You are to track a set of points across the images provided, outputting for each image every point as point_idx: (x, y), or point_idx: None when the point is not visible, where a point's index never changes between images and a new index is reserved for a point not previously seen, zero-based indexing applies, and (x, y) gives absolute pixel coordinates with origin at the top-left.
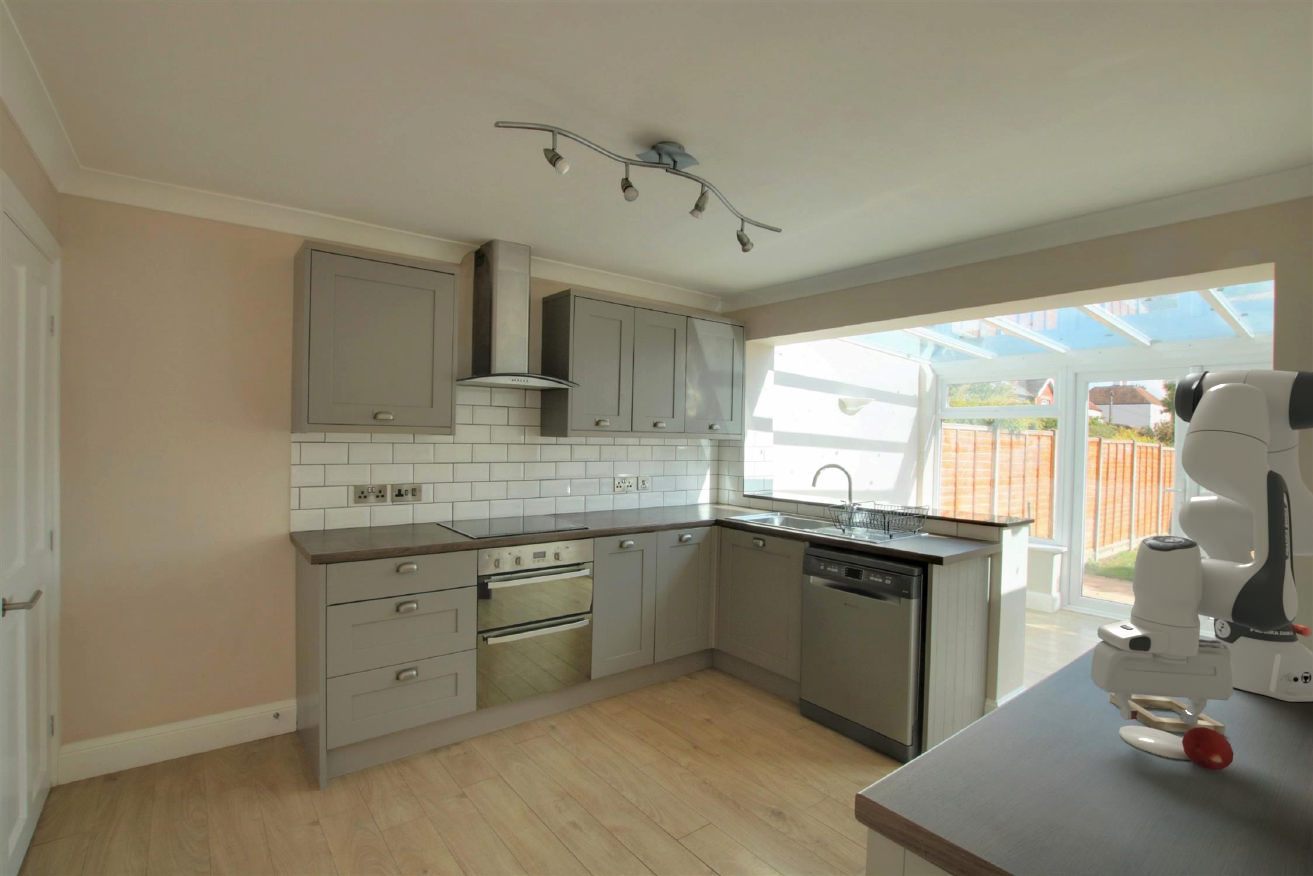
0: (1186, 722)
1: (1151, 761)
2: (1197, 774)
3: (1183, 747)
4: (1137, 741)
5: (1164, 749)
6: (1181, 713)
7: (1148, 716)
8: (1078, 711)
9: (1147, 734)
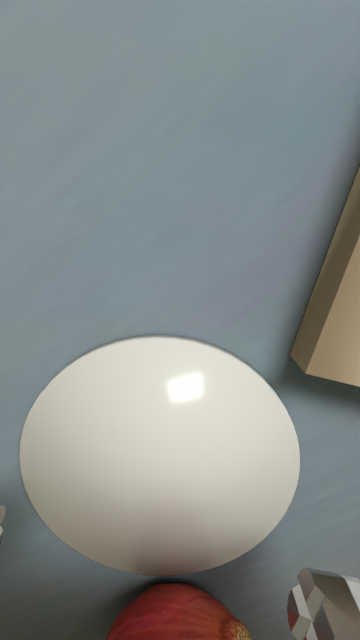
0: (291, 608)
1: (4, 555)
2: (96, 624)
3: (112, 633)
4: (46, 475)
5: (107, 535)
6: (320, 621)
7: (334, 318)
8: (44, 89)
9: (164, 427)
